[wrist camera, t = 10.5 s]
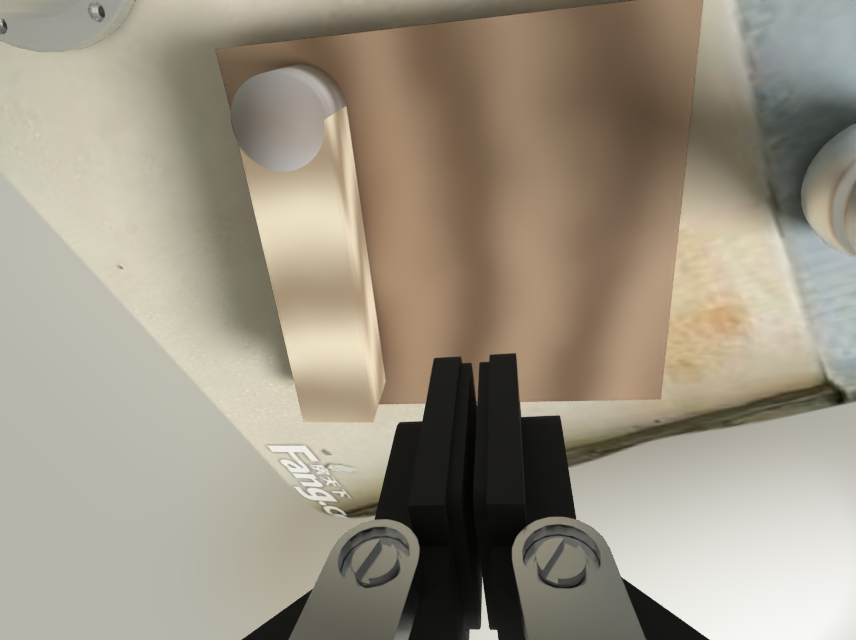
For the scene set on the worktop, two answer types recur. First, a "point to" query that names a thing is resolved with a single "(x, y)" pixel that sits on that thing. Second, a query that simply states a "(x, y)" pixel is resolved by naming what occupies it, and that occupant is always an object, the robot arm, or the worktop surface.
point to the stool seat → (517, 188)
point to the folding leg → (313, 237)
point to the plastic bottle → (833, 192)
